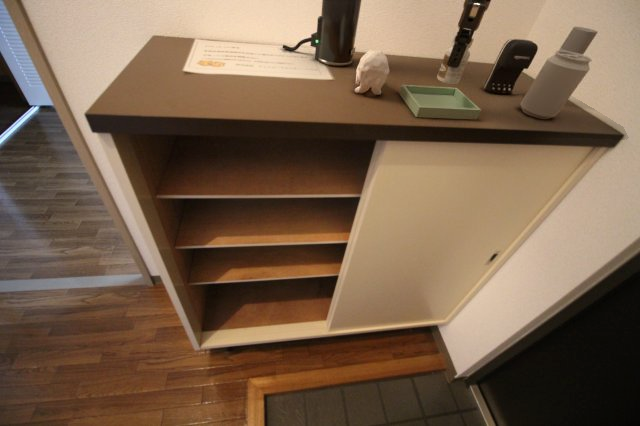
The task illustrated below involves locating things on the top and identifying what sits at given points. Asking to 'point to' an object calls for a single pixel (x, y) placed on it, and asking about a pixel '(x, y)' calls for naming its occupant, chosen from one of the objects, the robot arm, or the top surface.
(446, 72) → the pill bottle
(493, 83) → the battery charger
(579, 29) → the container
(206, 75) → the top surface
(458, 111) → the tray
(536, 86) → the can
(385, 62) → the white bear figurine
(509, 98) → the top surface
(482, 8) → the robot arm
